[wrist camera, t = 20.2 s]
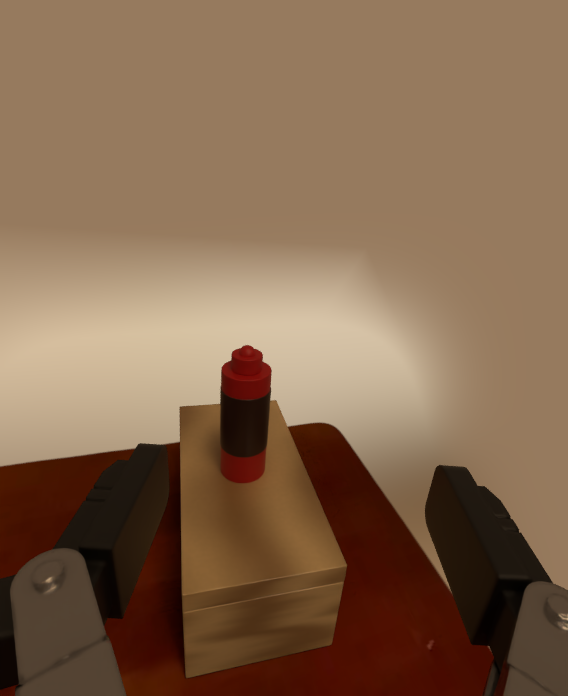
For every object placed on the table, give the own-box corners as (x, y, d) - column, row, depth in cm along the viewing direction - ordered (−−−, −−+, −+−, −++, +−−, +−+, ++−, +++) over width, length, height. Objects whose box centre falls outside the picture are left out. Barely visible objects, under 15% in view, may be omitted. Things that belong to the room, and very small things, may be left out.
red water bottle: (238, 447, 35) (242, 332, 30) (274, 464, 33) (283, 344, 29) (210, 471, 32) (210, 347, 27) (247, 491, 30) (254, 361, 26)
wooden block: (271, 460, 46) (276, 400, 42) (332, 645, 28) (347, 565, 25) (181, 469, 43) (179, 406, 40) (185, 679, 25) (181, 595, 22)
